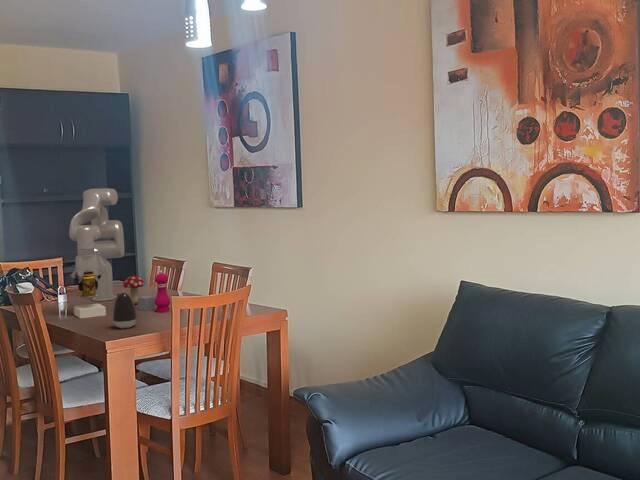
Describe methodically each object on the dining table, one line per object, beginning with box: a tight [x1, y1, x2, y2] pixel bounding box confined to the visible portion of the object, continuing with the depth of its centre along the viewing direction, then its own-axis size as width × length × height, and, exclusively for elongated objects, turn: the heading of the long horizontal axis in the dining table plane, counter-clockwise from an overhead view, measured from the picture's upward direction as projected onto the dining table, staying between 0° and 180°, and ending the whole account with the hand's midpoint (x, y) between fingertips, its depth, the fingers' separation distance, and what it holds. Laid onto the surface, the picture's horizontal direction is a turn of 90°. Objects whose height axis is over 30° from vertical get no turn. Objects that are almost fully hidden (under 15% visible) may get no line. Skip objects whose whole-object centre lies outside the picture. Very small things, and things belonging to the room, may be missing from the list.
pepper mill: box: [154, 270, 171, 313], centre depth 348 cm, size 7×7×20 cm
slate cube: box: [137, 295, 157, 311], centre depth 357 cm, size 6×6×6 cm
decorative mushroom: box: [122, 275, 145, 306], centre depth 370 cm, size 11×11×15 cm
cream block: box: [73, 303, 107, 319], centre depth 346 cm, size 12×12×4 cm
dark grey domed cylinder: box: [111, 292, 138, 329], centre depth 314 cm, size 10×10×15 cm
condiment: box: [77, 271, 97, 298], centre depth 344 cm, size 7×8×12 cm
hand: (88, 289), depth 345 cm, fingers closed on condiment, 6 cm apart
